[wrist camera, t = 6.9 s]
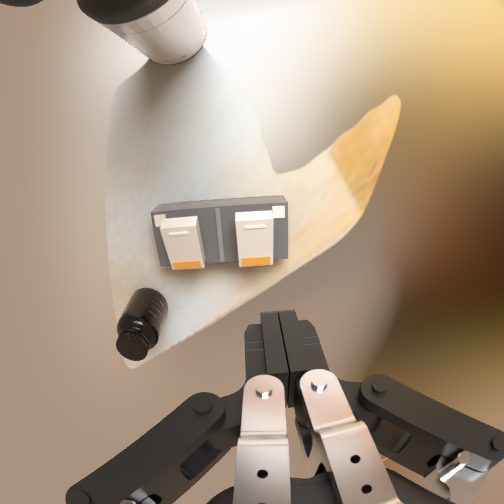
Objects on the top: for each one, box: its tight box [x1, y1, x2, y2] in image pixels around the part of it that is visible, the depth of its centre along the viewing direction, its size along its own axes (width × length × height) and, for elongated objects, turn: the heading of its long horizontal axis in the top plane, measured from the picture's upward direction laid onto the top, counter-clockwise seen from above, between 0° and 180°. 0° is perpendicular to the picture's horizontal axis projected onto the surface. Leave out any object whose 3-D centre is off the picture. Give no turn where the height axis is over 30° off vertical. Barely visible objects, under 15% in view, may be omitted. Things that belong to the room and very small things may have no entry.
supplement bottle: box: [116, 288, 168, 361], centre depth 40 cm, size 7×7×12 cm
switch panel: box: [151, 196, 288, 266], centre depth 38 cm, size 8×18×4 cm, turn 93°
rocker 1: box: [160, 216, 205, 270], centre depth 35 cm, size 7×4×2 cm, turn 3°
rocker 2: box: [235, 210, 274, 267], centre depth 35 cm, size 7×4×2 cm, turn 3°
